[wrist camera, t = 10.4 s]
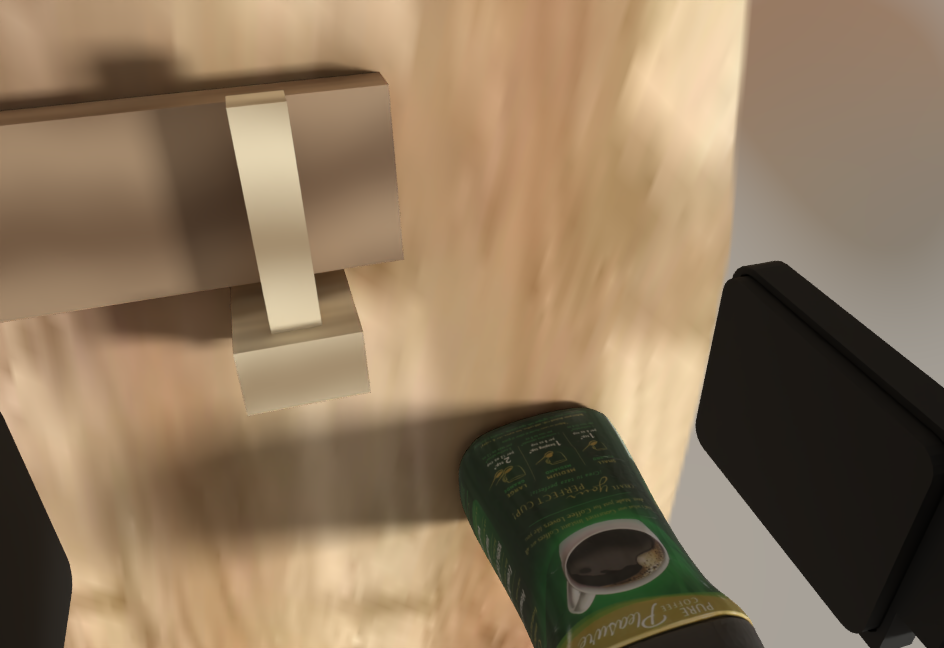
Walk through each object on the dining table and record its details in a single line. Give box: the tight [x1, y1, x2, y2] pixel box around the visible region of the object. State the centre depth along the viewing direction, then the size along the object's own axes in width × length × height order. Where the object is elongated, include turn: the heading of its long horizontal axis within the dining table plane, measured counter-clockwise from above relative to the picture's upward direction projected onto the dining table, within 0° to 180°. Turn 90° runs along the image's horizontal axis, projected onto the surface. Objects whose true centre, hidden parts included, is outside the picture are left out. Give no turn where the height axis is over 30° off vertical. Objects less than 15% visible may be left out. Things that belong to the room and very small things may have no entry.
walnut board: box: [0, 72, 404, 323], centre depth 30 cm, size 8×28×2 cm, turn 92°
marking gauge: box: [225, 90, 371, 416], centre depth 31 cm, size 13×5×6 cm, turn 2°
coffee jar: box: [459, 408, 764, 648], centre depth 38 cm, size 10×8×19 cm
